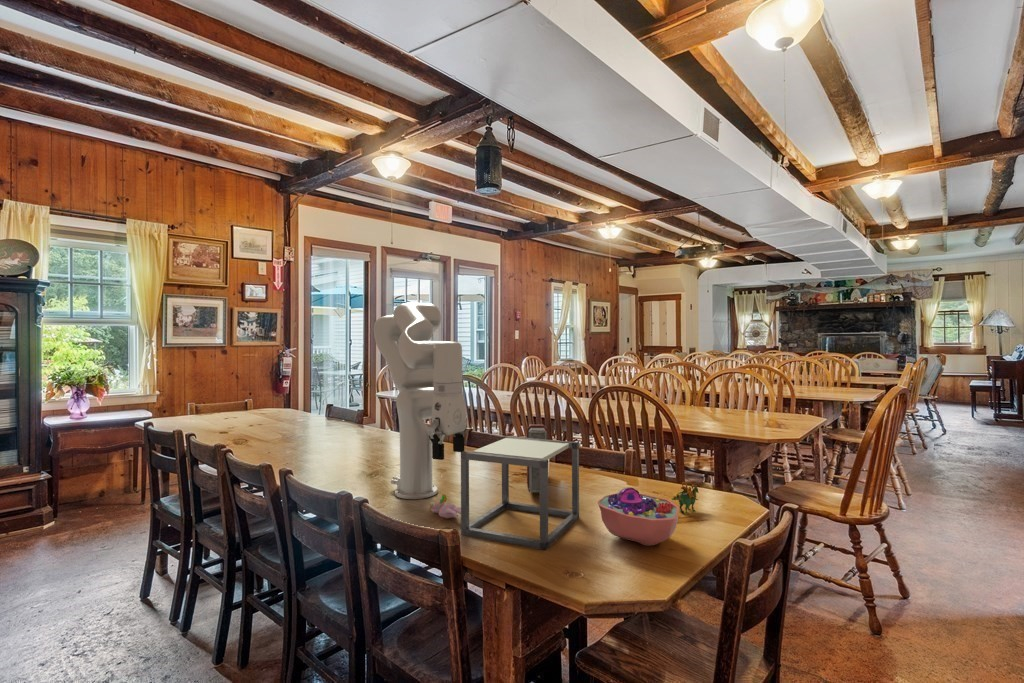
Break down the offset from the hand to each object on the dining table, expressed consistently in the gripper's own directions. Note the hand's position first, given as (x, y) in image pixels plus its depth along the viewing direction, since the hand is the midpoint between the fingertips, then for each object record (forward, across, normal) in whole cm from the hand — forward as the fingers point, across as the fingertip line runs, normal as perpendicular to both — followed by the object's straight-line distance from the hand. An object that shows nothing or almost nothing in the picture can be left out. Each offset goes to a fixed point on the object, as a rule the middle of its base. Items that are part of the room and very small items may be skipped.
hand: (448, 455), depth 136 cm
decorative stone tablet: (+16, +38, -8) cm, 42 cm away
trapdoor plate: (-2, +3, -20) cm, 20 cm away
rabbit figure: (+16, 0, +1) cm, 17 cm away
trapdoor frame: (+16, +3, -19) cm, 26 cm away
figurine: (+17, +30, -54) cm, 64 cm away
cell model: (+17, +6, -47) cm, 51 cm away
